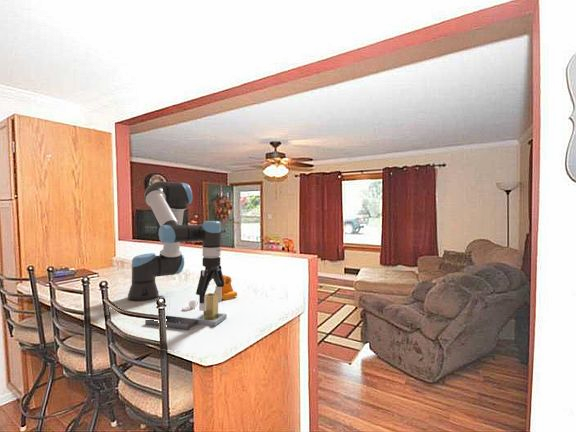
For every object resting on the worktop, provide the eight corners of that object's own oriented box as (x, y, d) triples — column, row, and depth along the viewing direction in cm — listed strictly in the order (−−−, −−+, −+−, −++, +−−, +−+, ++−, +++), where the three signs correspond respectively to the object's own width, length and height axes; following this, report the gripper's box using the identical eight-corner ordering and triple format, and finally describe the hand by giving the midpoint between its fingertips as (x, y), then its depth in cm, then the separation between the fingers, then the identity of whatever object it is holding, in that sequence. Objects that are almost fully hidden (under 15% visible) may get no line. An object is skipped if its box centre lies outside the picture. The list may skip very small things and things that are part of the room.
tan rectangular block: (203, 321, 129) (203, 295, 129) (208, 317, 134) (209, 292, 134) (212, 322, 128) (213, 296, 128) (217, 318, 133) (218, 293, 132)
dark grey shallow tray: (145, 325, 125) (145, 319, 125) (156, 319, 131) (156, 314, 131) (188, 331, 120) (188, 324, 120) (197, 324, 126) (197, 318, 126)
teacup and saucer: (182, 313, 141) (182, 304, 141) (181, 308, 149) (181, 300, 149) (201, 311, 145) (201, 302, 145) (199, 306, 152) (199, 298, 152)
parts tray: (194, 323, 127) (194, 319, 127) (206, 316, 137) (206, 311, 137) (215, 326, 125) (215, 321, 125) (226, 318, 134) (226, 314, 134)
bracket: (220, 301, 161) (220, 278, 161) (214, 297, 167) (214, 276, 166) (237, 297, 168) (238, 276, 168) (231, 294, 174) (231, 273, 173)
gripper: (204, 261, 118) (203, 315, 118) (231, 253, 142) (231, 298, 142) (187, 260, 119) (186, 314, 120) (217, 252, 144) (216, 297, 144)
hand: (210, 305), depth 131 cm, fingers open, 13 cm apart
